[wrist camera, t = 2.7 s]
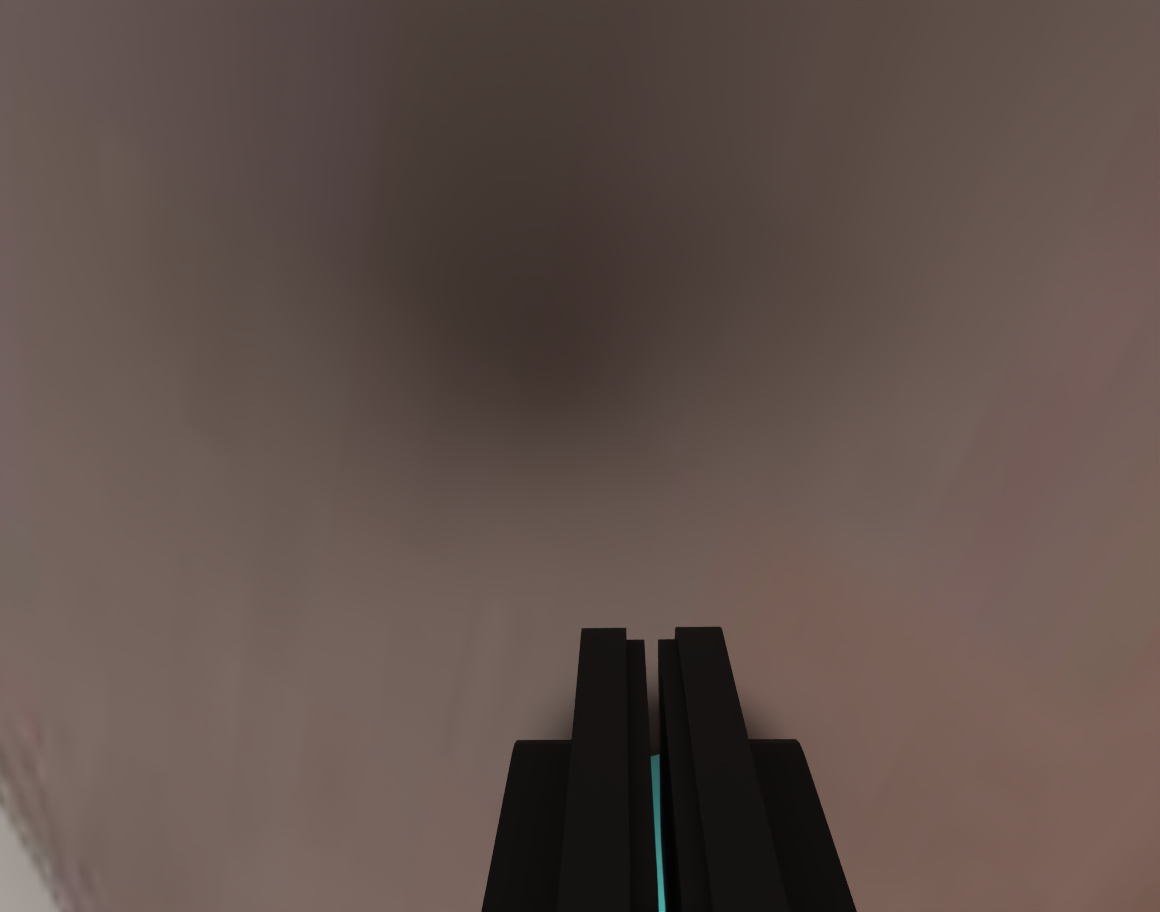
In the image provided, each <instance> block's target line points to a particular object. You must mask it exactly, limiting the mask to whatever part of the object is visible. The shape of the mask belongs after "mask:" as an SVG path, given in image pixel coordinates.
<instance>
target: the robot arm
mask: <svg viewBox="0 0 1160 912" xmlns="http://www.w3.org/2000/svg"><path fill="white" fill-rule="evenodd" d="M658 683H659V769H660V833H661V854H662V869H663V885H664V900H665V912H857V911H856V908H855V905H854V902H853V899H852V896H851V893H850V890H849V887H848V884H847V881H846V878H845V875H844V872H843V869H842V866H841V863H840V860H839V857H838V854H837V851H836V848H835V845H834V842H833V839H832V836H831V833H830V830H829V827H828V824H827V821H826V818H825V815H824V812H823V809H822V806H821V803H820V800H819V797H818V794H817V791H816V788H815V785H814V782H813V779H812V776H811V773H810V770H809V767H808V764H807V761H806V758H805V755H804V752H803V750H802V748H801V745H800V743H799V742H798V741H797V740H796V739H748V736H747V732H746V728H745V724H744V719H743V715H742V711H741V707H740V703H739V698H738V694H737V690H736V686H735V682H734V677H733V673H732V669H731V665H730V661H729V657H728V652H727V648H726V644H725V640H724V636H723V632H722V628H721V627H676V628H675V639H659V640H658ZM482 912H659V898H658V877H657V859H656V841H655V824H654V806H653V788H652V771H651V753H650V735H649V717H648V700H647V682H646V664H645V647H644V640H626V628H582V631H581V641H580V652H579V664H578V675H577V687H576V698H575V709H574V721H573V732H572V740H517V741H516V743H515V744H514V748H513V752H512V757H511V762H510V767H509V772H508V777H507V782H506V788H505V793H504V798H503V803H502V808H501V813H500V819H499V824H498V829H497V834H496V839H495V844H494V850H493V855H492V860H491V865H490V870H489V875H488V881H487V886H486V891H485V896H484V901H483V906H482Z"/></svg>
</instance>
